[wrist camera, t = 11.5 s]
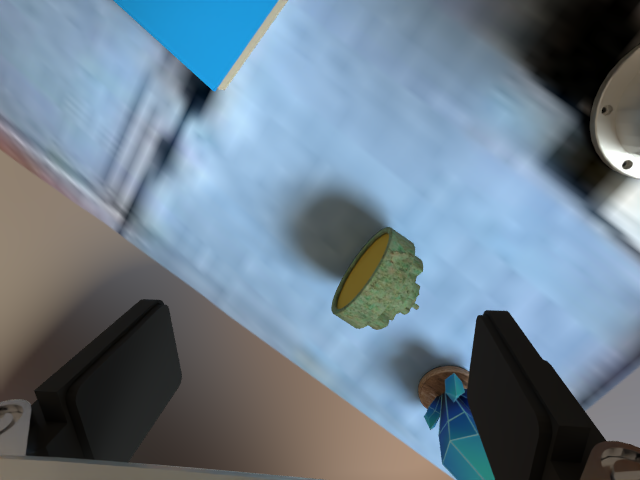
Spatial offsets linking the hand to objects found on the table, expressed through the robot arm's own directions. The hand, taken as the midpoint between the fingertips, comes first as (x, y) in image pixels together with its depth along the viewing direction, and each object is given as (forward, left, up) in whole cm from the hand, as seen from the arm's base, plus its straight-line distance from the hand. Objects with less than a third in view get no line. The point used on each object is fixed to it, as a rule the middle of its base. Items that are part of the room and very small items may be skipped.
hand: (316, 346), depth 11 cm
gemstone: (-12, +26, -28) cm, 40 cm away
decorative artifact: (-4, +10, -28) cm, 30 cm away
